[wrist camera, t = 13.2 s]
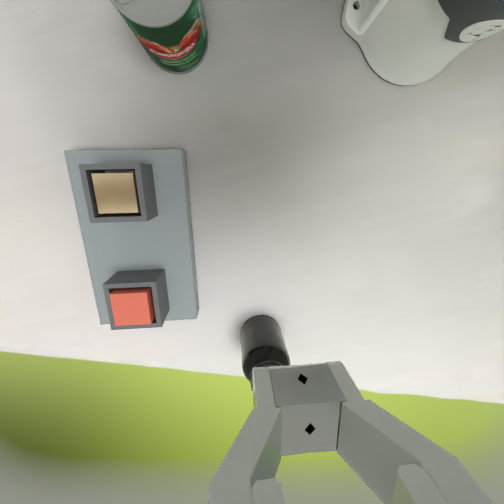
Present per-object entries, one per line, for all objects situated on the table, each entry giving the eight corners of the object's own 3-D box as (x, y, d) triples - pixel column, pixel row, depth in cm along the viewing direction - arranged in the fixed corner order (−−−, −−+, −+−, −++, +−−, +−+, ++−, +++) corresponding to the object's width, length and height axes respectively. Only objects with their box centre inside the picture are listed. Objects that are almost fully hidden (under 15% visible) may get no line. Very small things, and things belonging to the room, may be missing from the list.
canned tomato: (178, -20, 30) (149, -126, 19) (221, 45, 32) (216, -18, 22) (127, 28, 31) (74, -49, 20) (173, 88, 33) (145, 47, 22)
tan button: (107, 173, 32) (91, 173, 28) (144, 173, 32) (132, 172, 29) (113, 209, 33) (98, 213, 30) (148, 208, 34) (138, 212, 30)
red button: (122, 281, 35) (109, 294, 31) (155, 279, 35) (146, 292, 32) (127, 310, 36) (115, 326, 32) (159, 308, 37) (151, 324, 33)
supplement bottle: (286, 321, 44) (306, 372, 32) (270, 353, 45) (283, 413, 34) (249, 308, 43) (256, 357, 31) (234, 342, 44) (235, 400, 33)
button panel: (77, 152, 34) (36, 146, 27) (185, 151, 35) (173, 144, 28) (109, 313, 41) (83, 343, 34) (198, 309, 42) (192, 336, 35)
